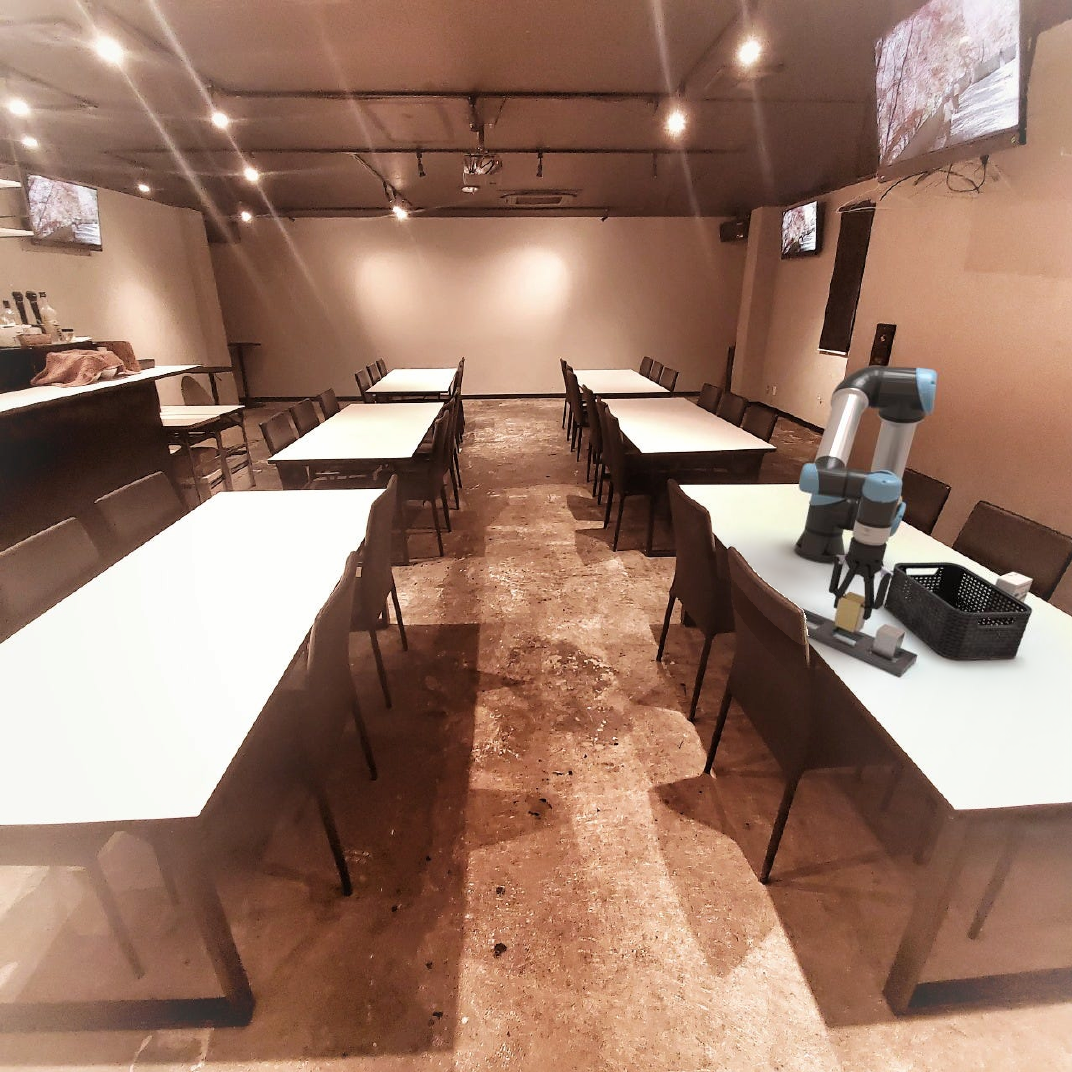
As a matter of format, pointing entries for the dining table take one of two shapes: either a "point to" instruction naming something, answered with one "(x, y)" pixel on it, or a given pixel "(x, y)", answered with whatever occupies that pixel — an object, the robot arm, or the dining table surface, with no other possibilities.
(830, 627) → the rail
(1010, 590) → the ink box
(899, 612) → the storage bin
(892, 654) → the light grey block
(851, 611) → the maple wood beam
